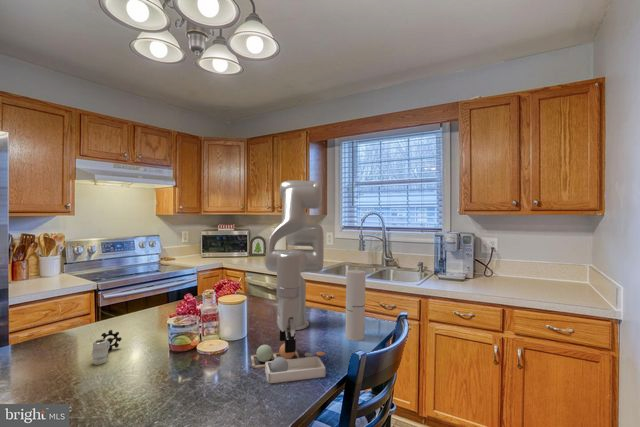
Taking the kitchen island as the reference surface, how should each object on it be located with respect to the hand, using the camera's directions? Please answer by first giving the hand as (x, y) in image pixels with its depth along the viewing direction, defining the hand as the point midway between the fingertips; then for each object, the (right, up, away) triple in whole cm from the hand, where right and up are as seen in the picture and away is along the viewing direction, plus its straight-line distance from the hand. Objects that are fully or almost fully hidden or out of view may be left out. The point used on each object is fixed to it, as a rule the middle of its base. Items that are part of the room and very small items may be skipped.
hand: (287, 346), depth 105 cm
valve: (-58, -4, 0) cm, 58 cm away
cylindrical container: (+24, -5, +21) cm, 32 cm away
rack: (-4, -5, 0) cm, 6 cm away
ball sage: (-7, -4, -1) cm, 8 cm away
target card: (+9, -5, +4) cm, 11 cm away
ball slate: (-1, -4, -10) cm, 11 cm away
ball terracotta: (0, -4, +1) cm, 4 cm away
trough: (+3, -5, -9) cm, 11 cm away
